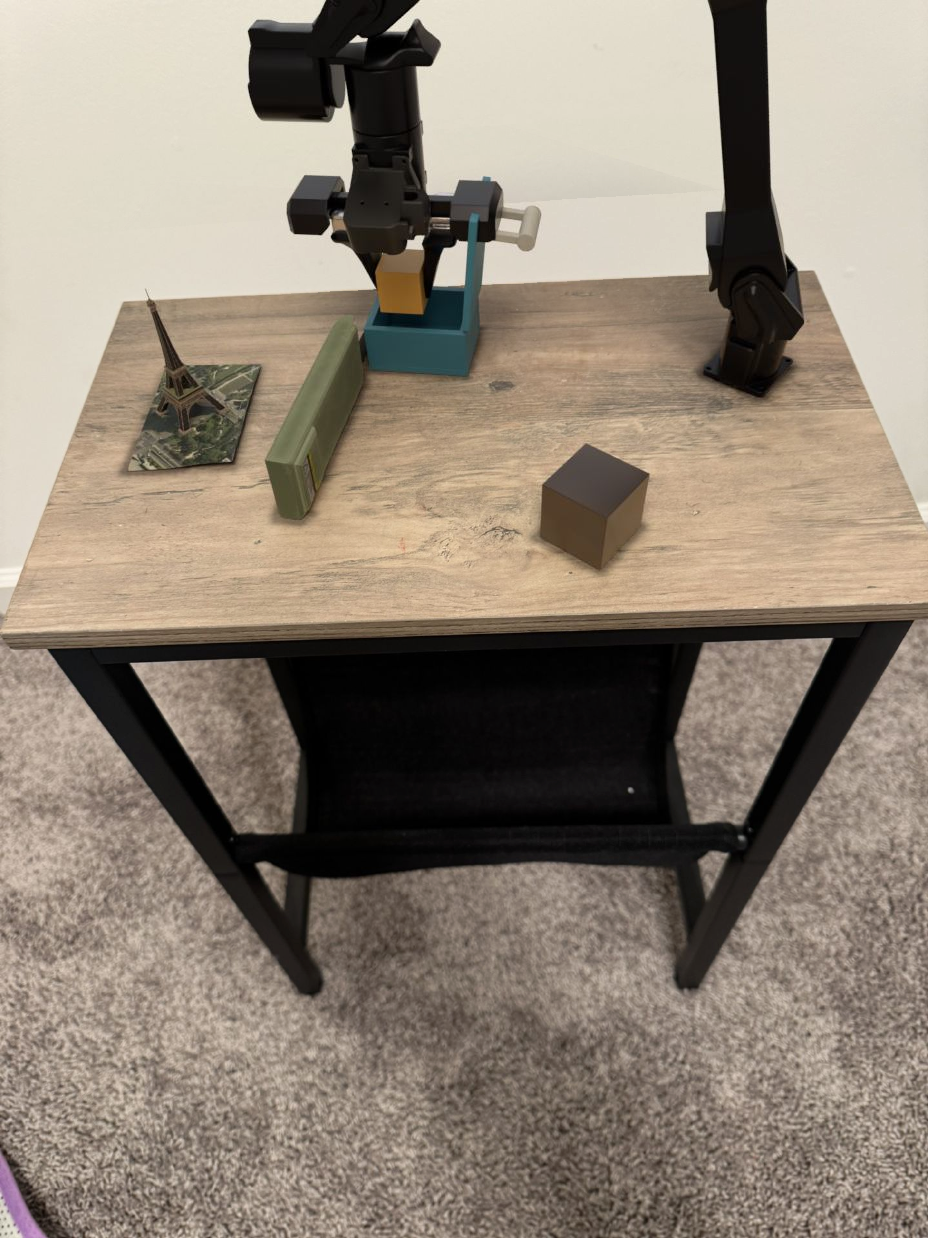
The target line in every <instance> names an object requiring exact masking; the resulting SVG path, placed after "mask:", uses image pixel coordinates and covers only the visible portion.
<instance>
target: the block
mask: <svg viewBox="0 0 928 1238" xmlns="http://www.w3.org/2000/svg"><path fill="white" fill-rule="evenodd" d="M375 275H376V282H377V289H378V291H377V295H378V296H379V303H380V310H381V312H386V313H404V314H423V313H424V310H425V307H426V304H427V301H428V299H427V298H426V297H425V290H424V250H423V249H414V248H413V249H412V248H406V249H405V250H404V252H402V253H401V254H398V255H388V254H386V253H382V257H381V259H380V261H379V264H378V266H377V269H376V271H375Z"/></svg>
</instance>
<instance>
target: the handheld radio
mask: <svg viewBox="0 0 928 1238" xmlns="http://www.w3.org/2000/svg"><path fill="white" fill-rule="evenodd" d="M354 320H355V316H353V315H348V314H341V316H340V317H339V319H338V320H337V321H335V323H333V325H332V326H331V328H330V330H329V332H328V334H327V336H326V338H325V340H324V342H323V344H322V346H321V348H320V350H319V351H318V354H317V355H316V358H315V360H314V362H313V364H312V366H311V367H310V369H309V371H308V373H307V375H306V377H305V379H304V381H303V383H302V385H301V387H300V388H299V391H298V393H297V395H296V397H295V399H294V400H293V403H292V404H291V407H290V409H289V411H288V412H287V415H286V417H285V419H284V420H283V423H282V424H281V426H280V428H279V430H278V431H277V434H276V435H275V438H274V440H273V442H272V443H271V446H270V448H269V450H268V452H267V453H266V456H265V458H264V463H265V467H266V471H267V474H268V478H269V482H270V485H271V489H272V493H273V496H274V497H273V498H274V500H275V504H276V508H277V512H278V514H279V516H280V517H281V518H282V519H289V520H298V521H300V520H302V519H303V518H304V517H305V516H306V514H307V512H308V511H309V510H310V508H311V506H312V504H313V502H314V499H315V497H316V496H317V493H318V491H319V489H320V485H321V483H322V481H323V479H324V477H325V471H326V468H328V467H327V466H328V464H329V462H330V460H331V457H332V455H333V452H334V451H335V449H336V447H337V444H338V441H339V439H340V437H341V435H342V432H343V430H344V428H345V426H346V423H347V421H348V419H349V416H350V414H351V412H352V410H353V407H354V405H355V403H356V401H357V398H358V396H359V395H360V394H359V393H360V392H361V390H362V387H363V385H364V382H365V377H364V371H363V364H364V362H365V360H366V358H367V357H368V354H367V348H366V342H365V336H364V331H363V332H362V334H361V336H360V338H359V331H358V327H357V326H356V324H355V323H354Z"/></svg>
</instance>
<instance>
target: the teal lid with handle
mask: <svg viewBox="0 0 928 1238" xmlns="http://www.w3.org/2000/svg"><path fill="white" fill-rule="evenodd" d="M481 181H492V177H490V176H486V175H483V176H482V179H481ZM501 219H505V220H512V221H518V222H521V223H520V227H519V231H518V232H513V231H507V230H500V229H498V230H497V231H496V240H493V241H492V242H498V243H505V244H506V243H507V244H512V245H517V247H518V248H519V250H520V251H522V252H530V251H532V250H533V249H534V248H535V246H536V242H537V237H538V232H539V229H540V228H539V227H540V223H541V219H542V211H541V209H540V208H539V207H538V206H536V205H529V206H526V207H525V209H519V208H512V207H505V206H503V209H502V218H501ZM478 222H479V214H474V213H472V214H471V217H470V220H469V230H468V242H467V245H466V259H465V261H466V262H465V277H464V288H465V290H464V305H463V320H462V331H468V332H469V330H470V326H471V322H472V319H473V315H474V311H475V308H476V304H477V300H478V297H479V296H480V294H481V290H482V286H483V285H482V284H483V276H484V275H483V274H484V264H485V263H484V262H485V251H486V242H477V235H478ZM479 298H480V297H479Z"/></svg>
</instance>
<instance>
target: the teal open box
mask: <svg viewBox="0 0 928 1238" xmlns="http://www.w3.org/2000/svg"><path fill="white" fill-rule="evenodd" d="M464 290H465V287H458V286H438V285H433V288H432V292H431V296H430V298H429V299H428V301H427V304H426V307H425V310H424V313H423V314H404V313H386V312H381V310H380V303H379V296H378V294H376V297H375V300H374V302H373V305H372V306H371V310H370V312H369V314H368V317H367V319H366V322H365V324H364V327H363V332H364V336H365V342H366V348H367V360H368V366H369V371H377V372H378V371H381V372H395V373H396V372H397V373H409V374H410V373H411V374H425V375H442V376H457V377H468V376H469V372H470V369H471V365H472V362H473V357H474V353H475V349H476V345H477V342H478V337H479V334H480V330H481V326H480V325H481V324H480V323H481V322H480V297H478V300H477V304H476V308H475V311H474V315H473V319H472V322H471V326H470V330H469V332H468V331H462V320H463V305H464Z"/></svg>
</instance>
